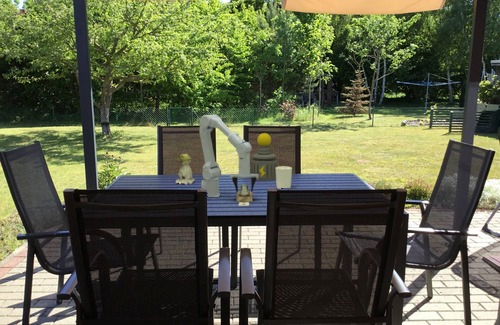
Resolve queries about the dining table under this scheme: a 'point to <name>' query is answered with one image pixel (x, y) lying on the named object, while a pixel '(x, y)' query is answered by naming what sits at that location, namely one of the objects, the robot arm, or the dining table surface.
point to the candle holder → (283, 177)
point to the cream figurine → (185, 170)
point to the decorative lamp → (264, 160)
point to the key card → (243, 203)
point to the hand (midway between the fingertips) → (244, 191)
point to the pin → (244, 190)
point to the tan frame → (244, 199)
